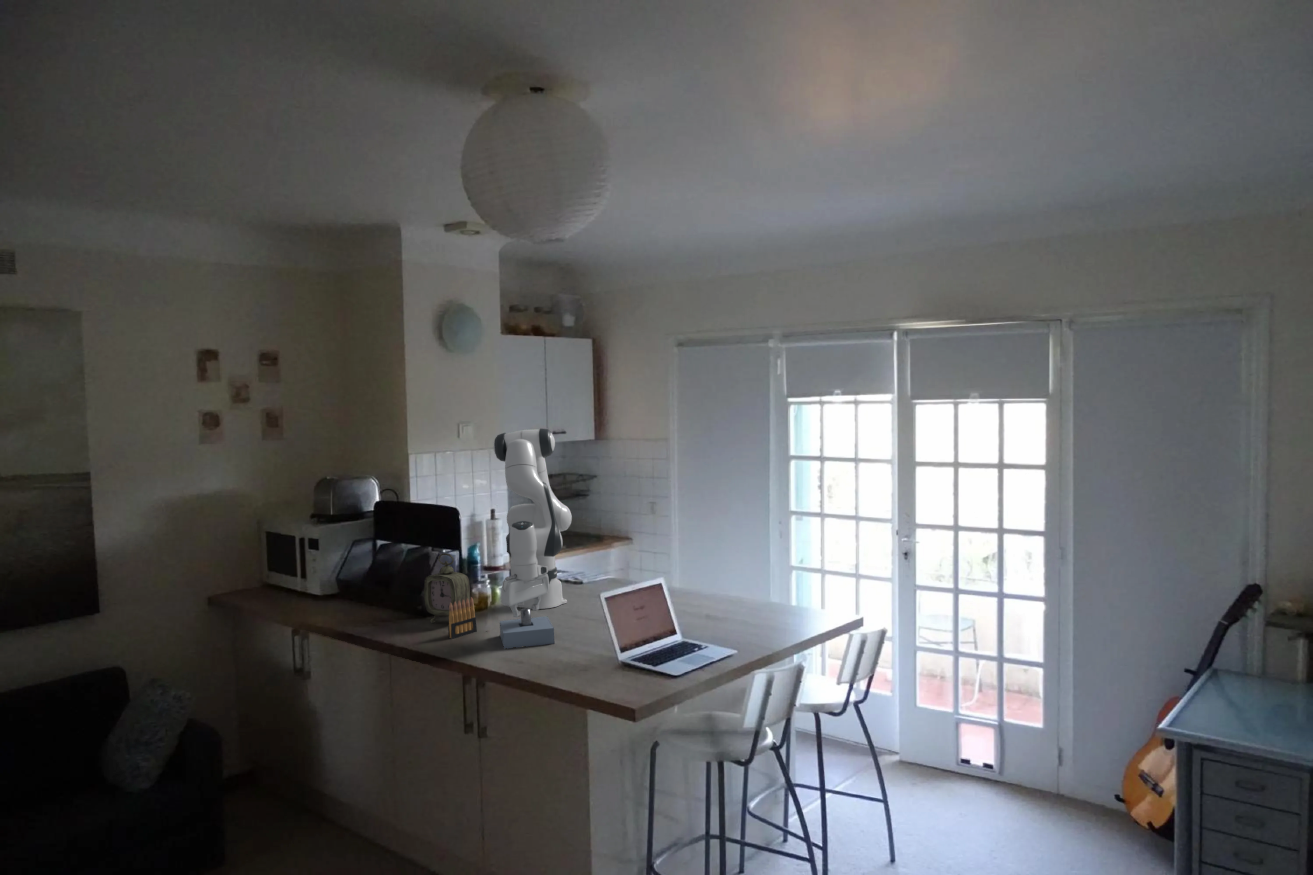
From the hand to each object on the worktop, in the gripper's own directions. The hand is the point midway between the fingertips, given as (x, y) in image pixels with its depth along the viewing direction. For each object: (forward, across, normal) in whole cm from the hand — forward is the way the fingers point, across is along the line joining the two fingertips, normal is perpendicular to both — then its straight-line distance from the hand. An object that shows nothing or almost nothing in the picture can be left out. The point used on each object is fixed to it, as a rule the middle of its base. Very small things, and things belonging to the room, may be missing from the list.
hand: (526, 613), depth 279 cm
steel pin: (+9, 0, 0) cm, 9 cm away
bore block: (+9, 0, 0) cm, 9 cm away
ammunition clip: (+9, -5, +24) cm, 26 cm away
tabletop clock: (+9, +5, +40) cm, 42 cm away
